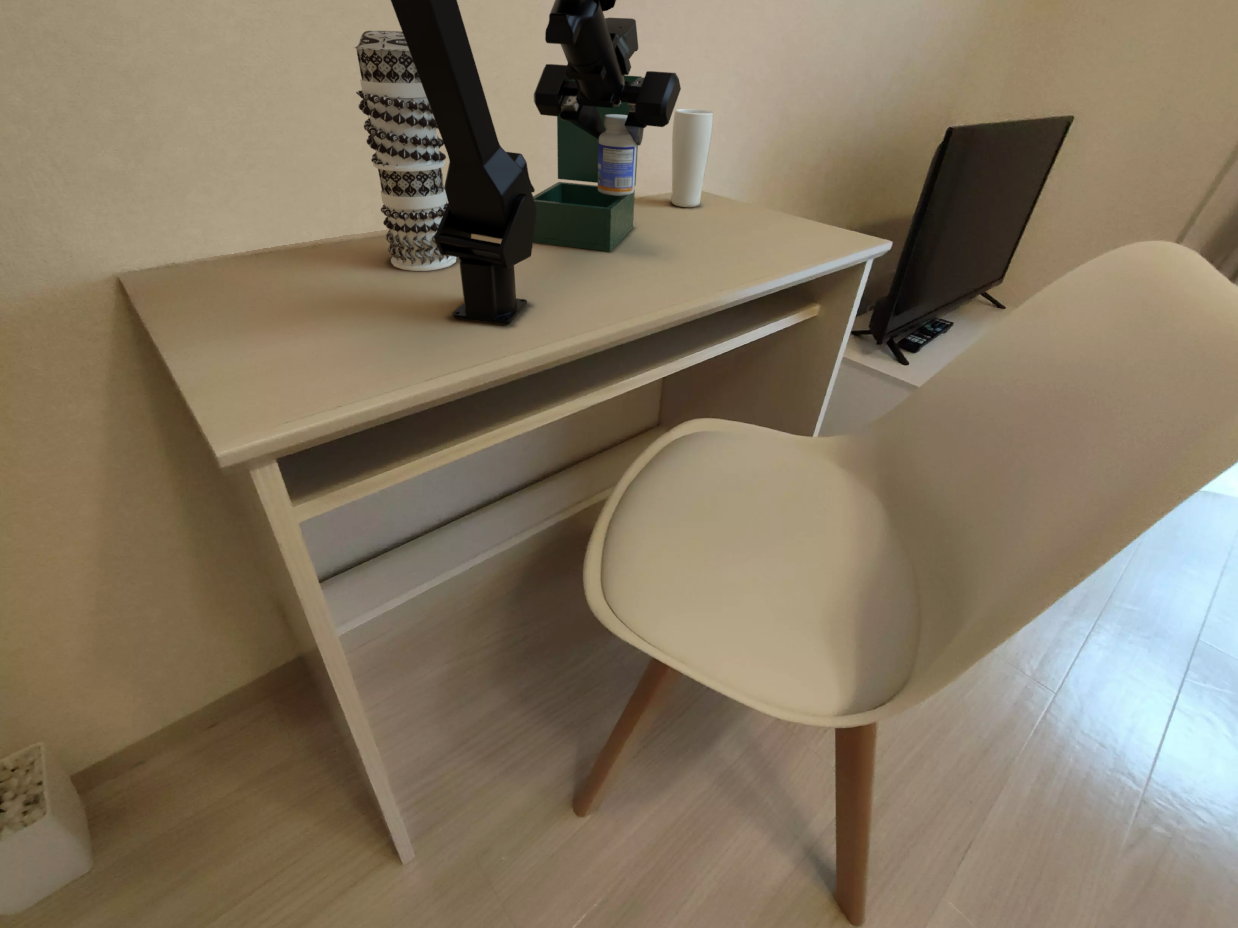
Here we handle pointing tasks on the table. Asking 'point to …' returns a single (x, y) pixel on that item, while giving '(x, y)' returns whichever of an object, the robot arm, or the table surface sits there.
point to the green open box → (582, 217)
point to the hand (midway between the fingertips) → (621, 140)
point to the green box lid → (583, 146)
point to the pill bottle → (616, 157)
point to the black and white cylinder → (403, 150)
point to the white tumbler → (690, 154)
